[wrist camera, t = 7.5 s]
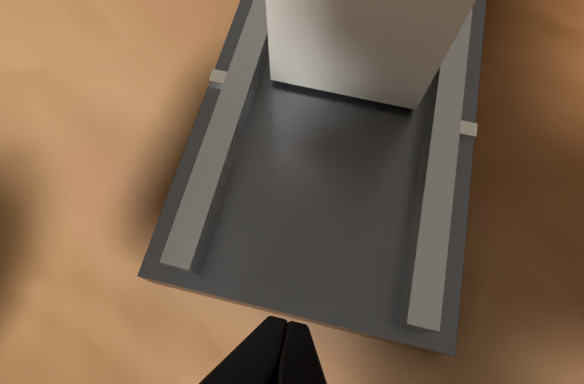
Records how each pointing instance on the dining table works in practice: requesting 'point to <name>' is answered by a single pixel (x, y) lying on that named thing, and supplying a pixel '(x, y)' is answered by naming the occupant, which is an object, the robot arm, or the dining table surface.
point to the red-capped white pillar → (363, 45)
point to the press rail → (326, 196)
